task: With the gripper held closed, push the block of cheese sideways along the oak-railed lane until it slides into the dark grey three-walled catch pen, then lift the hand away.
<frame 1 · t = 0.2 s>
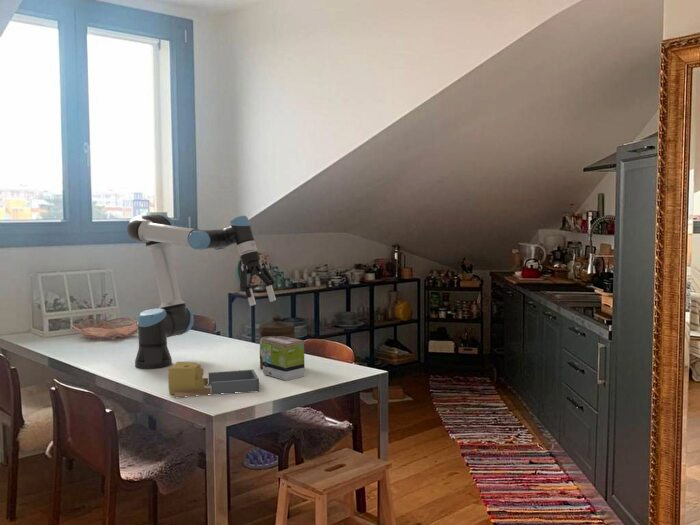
hand: (263, 303, 287), 28 cm above the table, tool tilted 20°, fingers open, 13 cm apart
cheese: (186, 392, 258), on the table
tea box: (283, 376, 280), on the table, touching wooden container
catch pen: (233, 387, 262), on the table
lane rails: (192, 390, 258), on the table
wooden container: (278, 368, 294), on the table, touching tea box
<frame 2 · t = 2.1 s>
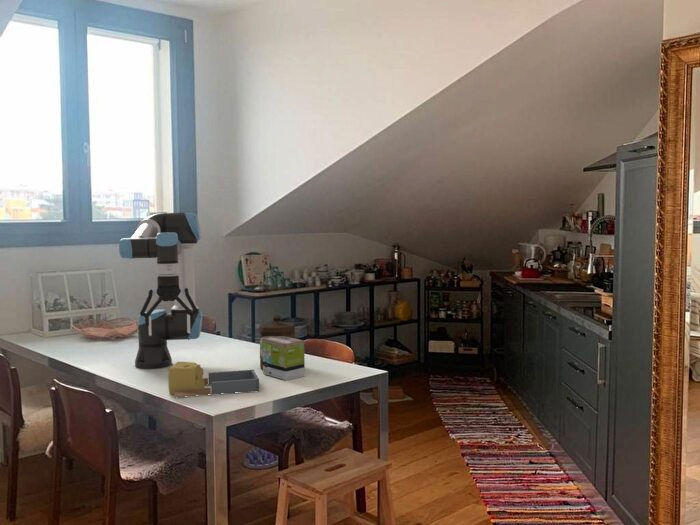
hand: (169, 334, 255), 21 cm above the table, tool pointing down, fingers open, 13 cm apart
nothing on the table moved.
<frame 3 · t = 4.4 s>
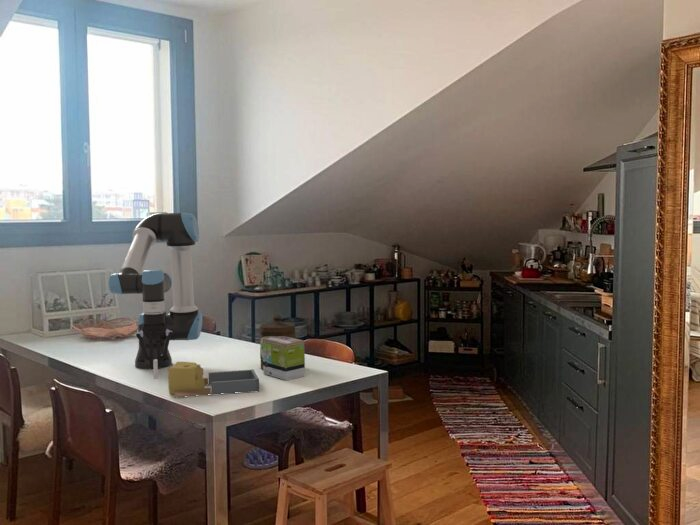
hand: (155, 377, 254), 6 cm above the table, tool pointing down, fingers closed
nothing on the table moved.
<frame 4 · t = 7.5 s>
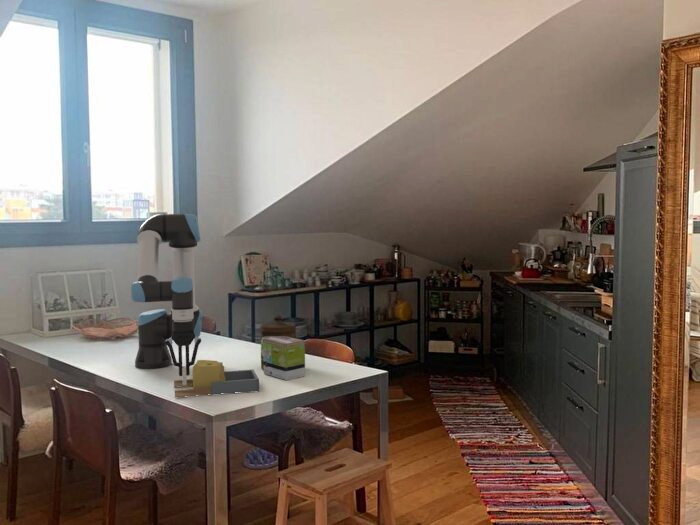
hand: (184, 384, 257), 3 cm above the table, tool pointing down, fingers closed
cheese: (209, 390, 260), on the table, touching gripper, hand
everything else where it was.
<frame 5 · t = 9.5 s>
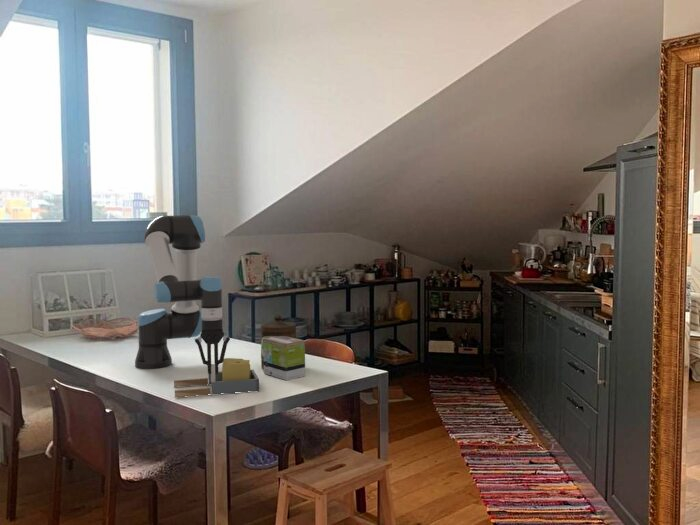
hand: (213, 382, 260), 3 cm above the table, tool pointing down, fingers closed
cheese: (236, 387, 263), on the table, touching gripper, hand
everything else where it was.
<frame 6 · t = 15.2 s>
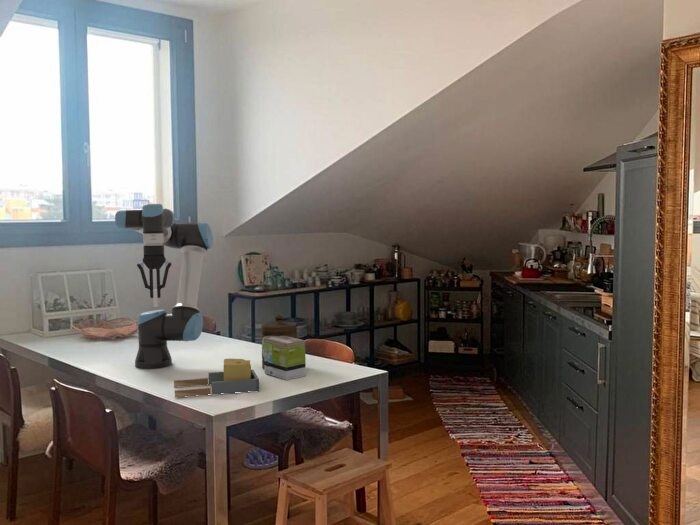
hand: (155, 306, 269), 29 cm above the table, tool pointing down, fingers closed
cheese: (237, 388, 263), on the table
at the end: cheese inside the target area on the catch pen (1.9 cm from its centre), point 0.0 cm above the catch pen's base; cheese moved 18.6 cm from its start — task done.
